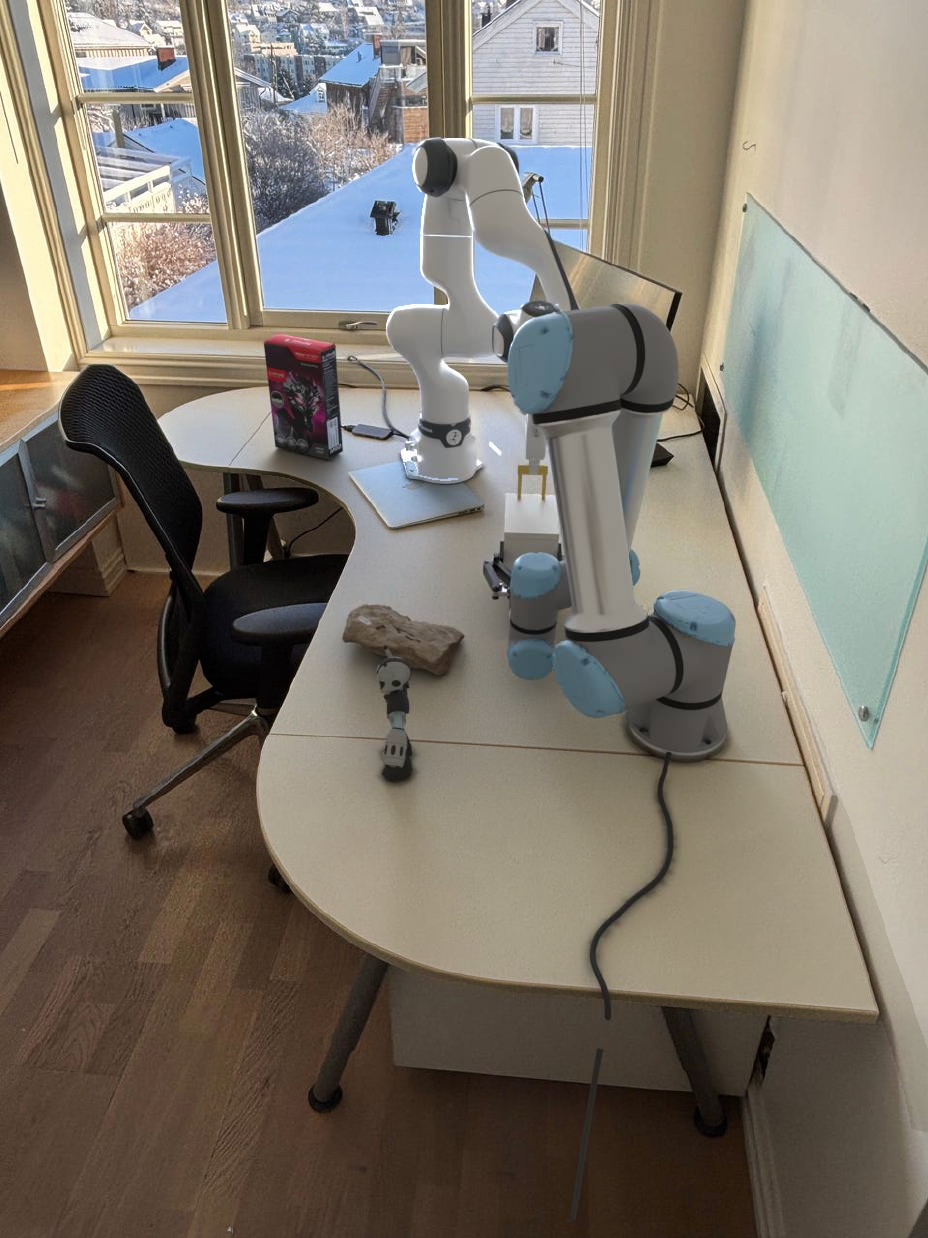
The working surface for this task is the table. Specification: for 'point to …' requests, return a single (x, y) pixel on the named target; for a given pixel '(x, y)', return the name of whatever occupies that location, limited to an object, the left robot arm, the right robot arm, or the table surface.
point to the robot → (396, 716)
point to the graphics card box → (304, 395)
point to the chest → (526, 549)
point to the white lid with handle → (531, 511)
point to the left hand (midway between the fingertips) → (533, 463)
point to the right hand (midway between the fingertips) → (530, 548)
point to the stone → (402, 637)
